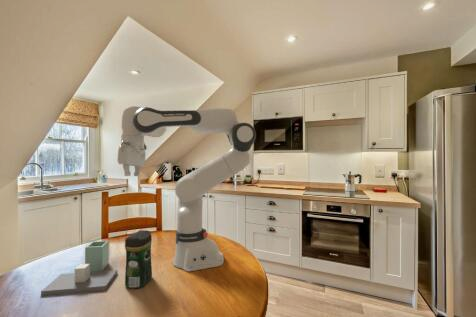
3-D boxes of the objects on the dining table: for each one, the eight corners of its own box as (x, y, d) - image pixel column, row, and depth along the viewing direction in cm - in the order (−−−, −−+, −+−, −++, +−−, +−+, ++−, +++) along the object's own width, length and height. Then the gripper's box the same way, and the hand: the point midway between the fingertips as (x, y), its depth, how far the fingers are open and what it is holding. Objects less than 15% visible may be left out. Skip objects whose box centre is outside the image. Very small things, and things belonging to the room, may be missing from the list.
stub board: (117, 273, 89) (117, 257, 89) (105, 290, 78) (105, 271, 78) (61, 277, 85) (61, 261, 85) (41, 295, 74) (41, 276, 74)
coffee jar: (135, 274, 88) (136, 228, 88) (154, 275, 87) (155, 229, 87) (120, 289, 79) (120, 236, 78) (141, 290, 78) (141, 238, 78)
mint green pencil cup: (108, 263, 97) (108, 240, 97) (102, 270, 91) (102, 246, 91) (92, 264, 96) (92, 241, 96) (85, 272, 90) (85, 247, 90)
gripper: (130, 140, 86) (129, 175, 85) (147, 147, 106) (147, 176, 105) (113, 140, 86) (112, 176, 84) (134, 147, 106) (134, 176, 105)
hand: (132, 176), depth 95 cm, fingers open, 8 cm apart
